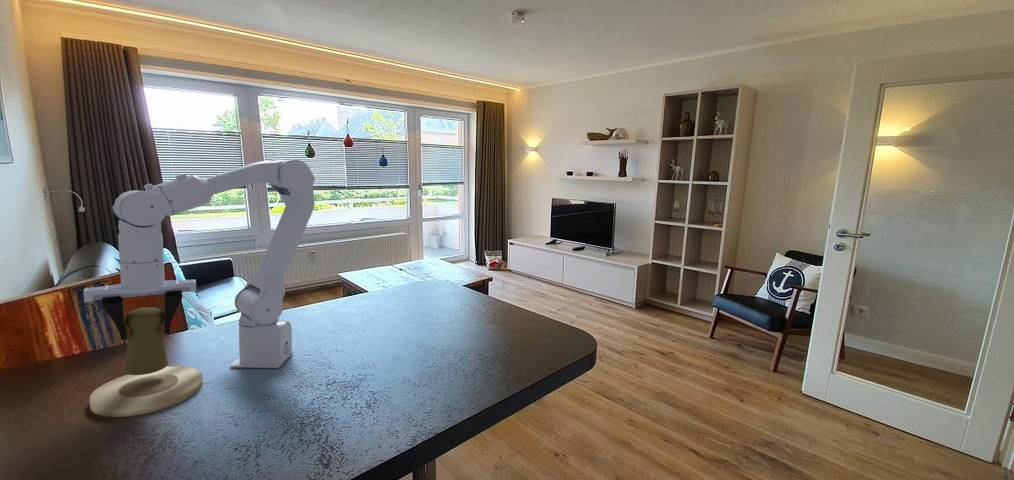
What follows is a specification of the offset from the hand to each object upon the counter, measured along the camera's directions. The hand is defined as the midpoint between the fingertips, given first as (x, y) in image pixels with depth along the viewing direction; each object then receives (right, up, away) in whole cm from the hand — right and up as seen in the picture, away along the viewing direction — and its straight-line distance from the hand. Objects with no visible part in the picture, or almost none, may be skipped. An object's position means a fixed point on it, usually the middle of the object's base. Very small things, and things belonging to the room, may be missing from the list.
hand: (146, 334), depth 72 cm
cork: (-1, -6, +2) cm, 7 cm away
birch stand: (0, -11, 0) cm, 11 cm away
